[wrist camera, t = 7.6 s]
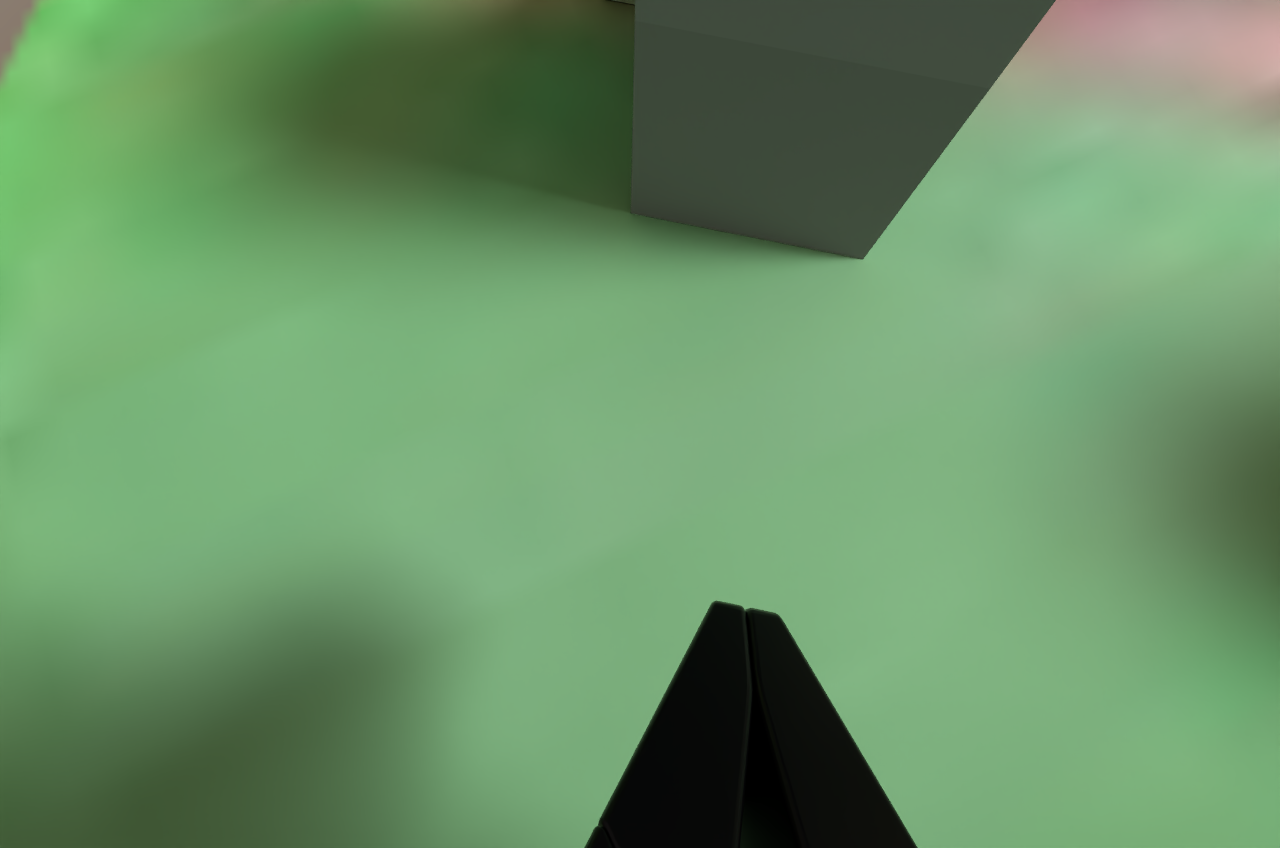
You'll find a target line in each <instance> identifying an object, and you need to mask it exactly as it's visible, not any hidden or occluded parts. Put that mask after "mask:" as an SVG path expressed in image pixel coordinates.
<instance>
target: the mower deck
mask: <svg viewBox="0 0 1280 848" xmlns="http://www.w3.org/2000/svg"><path fill="white" fill-rule="evenodd" d="M613 1H618V2H623V3H629V4H634V5H635V0H613Z"/></svg>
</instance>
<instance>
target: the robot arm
mask: <svg viewBox="0 0 1280 848" xmlns="http://www.w3.org/2000/svg"><path fill="white" fill-rule="evenodd" d="M585 848H917V846H916V844H915V843H914V841H913V839H912V838H911V836H910V834H909V833H908V831H907V829H906V828H905V826H904V824H903V822H902V821H901V819H900V817H899V816H898V814H897V812H896V811H895V809H894V807H893V806H892V804H891V802H890V800H889V799H888V797H887V795H886V794H885V792H884V790H883V789H882V787H881V785H880V784H879V782H878V780H877V779H876V777H875V775H874V773H873V772H872V770H871V768H870V767H869V765H868V763H867V762H866V760H865V758H864V757H863V755H862V753H861V752H860V750H859V748H858V746H857V745H856V743H855V741H854V740H853V738H852V736H851V735H850V733H849V731H848V730H847V728H846V726H845V725H844V723H843V721H842V719H841V718H840V716H839V714H838V713H837V711H836V709H835V708H834V706H833V704H832V703H831V701H830V699H829V698H828V696H827V694H826V692H825V691H824V689H823V687H822V686H821V684H820V682H819V681H818V679H817V677H816V676H815V674H814V672H813V671H812V669H811V667H810V665H809V664H808V662H807V660H806V659H805V657H804V655H803V654H802V652H801V650H800V649H799V647H798V645H797V643H796V642H795V640H794V638H793V637H792V635H791V633H790V632H789V630H788V628H787V627H786V625H785V623H784V622H783V620H782V618H781V617H780V616H779V615H778V614H776V613H773V612H768V611H764V610H759V609H754V608H749V609H746V610H744V608H743V607H742V606H740V605H735V604H730V603H726V602H721V601H714V602H713V603H712V604H711V605H710V607H709V609H708V611H707V613H706V615H705V617H704V619H703V621H702V623H701V625H700V626H699V628H698V630H697V632H696V634H695V636H694V638H693V640H692V642H691V644H690V646H689V648H688V650H687V652H686V654H685V655H684V657H683V659H682V661H681V663H680V665H679V667H678V669H677V671H676V673H675V675H674V677H673V679H672V681H671V683H670V684H669V686H668V688H667V690H666V692H665V694H664V696H663V698H662V700H661V702H660V704H659V706H658V708H657V710H656V711H655V713H654V715H653V717H652V719H651V721H650V723H649V725H648V727H647V729H646V731H645V733H644V735H643V737H642V739H641V740H640V742H639V744H638V746H637V748H636V750H635V752H634V754H633V756H632V758H631V760H630V762H629V764H628V766H627V767H626V769H625V771H624V773H623V775H622V777H621V779H620V781H619V783H618V785H617V787H616V789H615V791H614V793H613V795H612V796H611V798H610V800H609V802H608V804H607V806H606V808H605V810H604V812H603V814H602V816H601V818H600V820H599V823H598V826H597V827H595V828H594V830H593V832H592V834H591V836H590V838H589V840H588V842H587V844H586V846H585Z"/></svg>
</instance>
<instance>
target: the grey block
mask: <svg viewBox="0 0 1280 848" xmlns="http://www.w3.org/2000/svg"><path fill="white" fill-rule="evenodd" d="M1055 1H1056V0H635V34H634V80H633V127H632V174H631V213H632V214H637V215H642V216H647V217H652V218H657V219H662V220H667V221H672V222H677V223H682V224H687V225H692V226H697V227H702V228H707V229H712V230H718V231H723V232H728V233H733V234H738V235H743V236H748V237H753V238H758V239H763V240H768V241H773V242H778V243H783V244H788V245H793V246H798V247H803V248H808V249H813V250H818V251H824V252H829V253H834V254H839V255H844V256H849V257H854V258H859V259H864V257H865V256H866V255H867V253H868V252H869V251H870V249H871V248H872V247H873V245H874V244H875V243H876V241H877V240H878V238H879V237H880V236H881V234H882V233H883V232H884V230H885V229H886V228H887V226H888V225H889V224H890V222H891V221H892V220H893V218H894V217H895V216H896V214H897V213H898V212H899V210H900V209H901V208H902V206H903V205H904V204H905V202H906V201H907V200H908V198H909V197H910V195H911V194H912V193H913V191H914V190H915V189H916V187H917V186H918V185H919V183H920V182H921V181H922V179H923V178H924V177H925V175H926V174H927V173H928V171H929V170H930V169H931V167H932V166H933V165H934V163H935V162H936V161H937V159H938V158H939V157H940V155H941V154H942V152H943V151H944V150H945V148H946V147H947V146H948V144H949V143H950V142H951V140H952V139H953V138H954V136H955V135H956V134H957V132H958V131H959V130H960V128H961V127H962V126H963V124H964V123H965V122H966V120H967V119H968V118H969V116H970V115H971V114H972V112H973V111H974V109H975V108H976V107H977V105H978V104H979V103H980V101H981V100H982V99H983V97H984V96H985V95H986V93H987V92H988V91H989V89H990V88H991V87H992V85H993V84H994V83H995V81H996V80H997V79H998V77H999V76H1000V75H1001V73H1002V72H1003V71H1004V69H1005V68H1006V66H1007V65H1008V64H1009V62H1010V61H1011V60H1012V58H1013V57H1014V56H1015V54H1016V53H1017V52H1018V50H1019V49H1020V48H1021V46H1022V45H1023V44H1024V42H1025V41H1026V40H1027V38H1028V37H1029V36H1030V34H1031V33H1032V32H1033V30H1034V29H1035V28H1036V26H1037V25H1038V23H1039V22H1040V21H1041V19H1042V18H1043V17H1044V15H1045V14H1046V13H1047V11H1048V10H1049V9H1050V7H1051V6H1052V5H1053V3H1054V2H1055Z"/></svg>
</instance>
